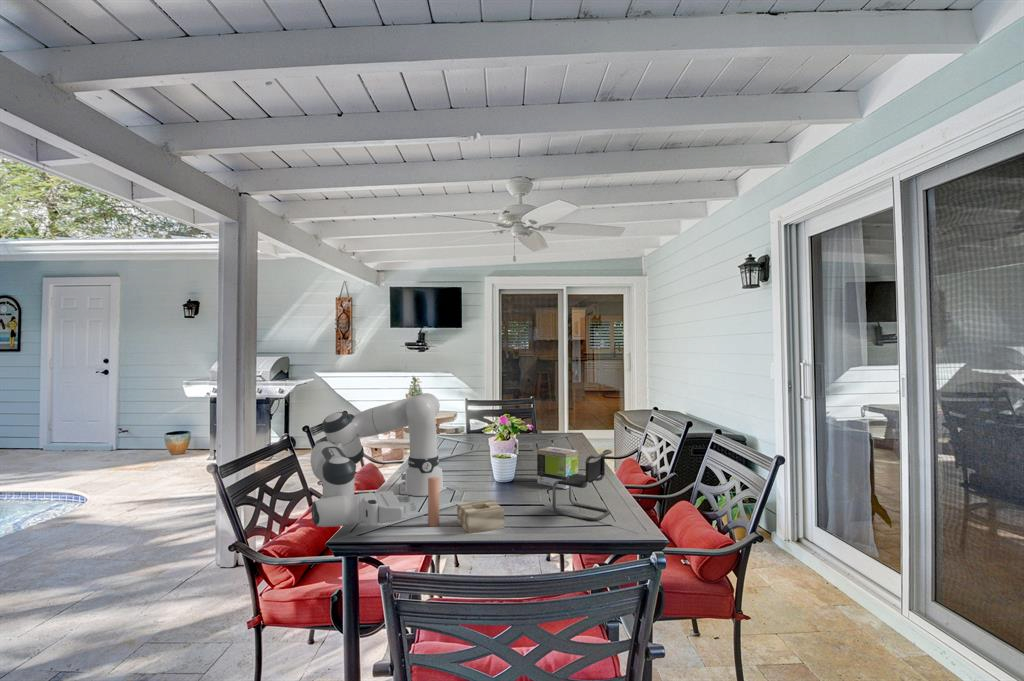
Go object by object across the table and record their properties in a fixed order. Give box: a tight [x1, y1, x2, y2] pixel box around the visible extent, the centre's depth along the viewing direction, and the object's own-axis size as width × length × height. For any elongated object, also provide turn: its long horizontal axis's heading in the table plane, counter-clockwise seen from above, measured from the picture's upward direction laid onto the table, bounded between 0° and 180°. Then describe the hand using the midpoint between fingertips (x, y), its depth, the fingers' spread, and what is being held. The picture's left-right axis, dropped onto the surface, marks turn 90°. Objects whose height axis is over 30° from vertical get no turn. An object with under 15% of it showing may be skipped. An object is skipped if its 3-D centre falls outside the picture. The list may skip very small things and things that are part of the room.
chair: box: [552, 449, 613, 522], centre depth 181 cm, size 13×17×22 cm
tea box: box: [536, 446, 579, 490], centre depth 219 cm, size 15×10×15 cm, turn 49°
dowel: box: [427, 477, 440, 528], centre depth 169 cm, size 4×4×15 cm
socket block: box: [456, 499, 505, 534], centre depth 168 cm, size 12×12×6 cm
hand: (412, 502), depth 165 cm, fingers open, 8 cm apart
